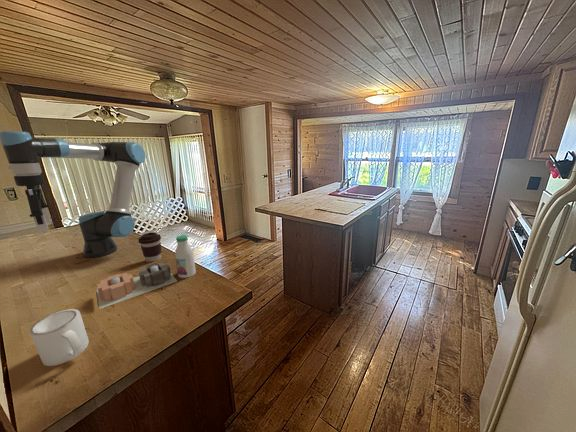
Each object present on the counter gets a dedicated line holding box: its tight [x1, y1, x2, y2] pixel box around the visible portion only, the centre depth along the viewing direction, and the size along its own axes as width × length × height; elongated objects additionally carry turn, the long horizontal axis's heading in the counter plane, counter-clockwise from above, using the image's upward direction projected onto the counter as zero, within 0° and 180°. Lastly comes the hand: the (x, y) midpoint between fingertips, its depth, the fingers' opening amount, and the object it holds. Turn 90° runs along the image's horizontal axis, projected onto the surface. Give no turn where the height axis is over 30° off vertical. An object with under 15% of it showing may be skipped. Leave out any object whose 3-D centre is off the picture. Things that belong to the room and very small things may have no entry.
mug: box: [29, 308, 90, 367], centre depth 66 cm, size 14×10×11 cm
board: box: [96, 266, 178, 310], centre depth 97 cm, size 16×27×8 cm, turn 132°
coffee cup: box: [137, 231, 162, 263], centre depth 119 cm, size 10×10×15 cm
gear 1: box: [96, 272, 135, 302], centre depth 92 cm, size 11×11×5 cm
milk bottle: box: [174, 234, 197, 279], centre depth 104 cm, size 8×8×20 cm
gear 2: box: [138, 261, 172, 287], centre depth 101 cm, size 11×11×5 cm
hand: (45, 227), depth 93 cm, fingers open, 13 cm apart
